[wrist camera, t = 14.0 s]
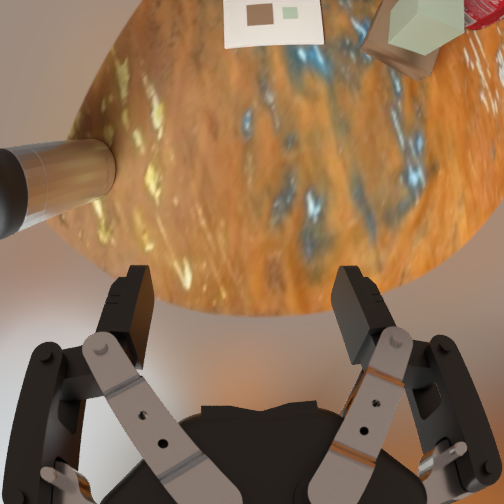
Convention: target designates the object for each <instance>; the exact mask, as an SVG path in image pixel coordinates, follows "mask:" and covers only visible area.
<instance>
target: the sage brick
mask: <svg viewBox="0 0 504 504" xmlns="http://www.w3.org/2000/svg"><path fill="white" fill-rule="evenodd" d="M463 33H464V0H398V2H397V3H396V4H395V6H394V7H393V8H392V10H391V12H390V26H389V38H388V44H391V45H395V46H398V47H401V48H404V49H407V50H410V51H413V52H416V53H419V54H421V55H424V56H426V55H427V54H429V53H431V52H432V51H434V50H436V49H437V48H439V47H441V46H442V45H444V44H446V43H447V42H449V41H451V40H453V39H454V38H456V37H458V36H460V35H461V34H463Z"/></svg>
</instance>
